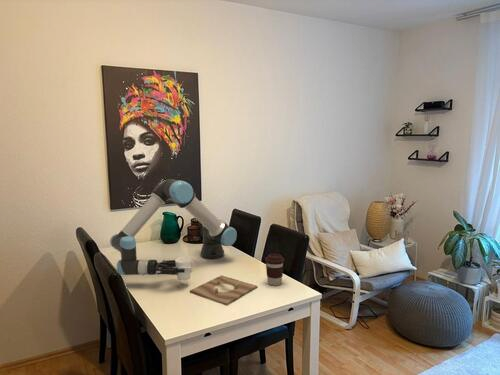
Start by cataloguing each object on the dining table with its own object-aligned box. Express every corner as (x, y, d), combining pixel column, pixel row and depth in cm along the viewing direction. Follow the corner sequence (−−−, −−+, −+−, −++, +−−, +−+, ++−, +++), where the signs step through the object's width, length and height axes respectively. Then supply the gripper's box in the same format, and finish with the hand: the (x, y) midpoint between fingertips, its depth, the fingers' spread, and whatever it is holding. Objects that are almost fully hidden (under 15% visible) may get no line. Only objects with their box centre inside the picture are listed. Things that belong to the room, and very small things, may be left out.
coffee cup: (286, 280, 198) (286, 253, 196) (281, 288, 189) (281, 259, 186) (268, 278, 201) (268, 251, 199) (262, 285, 192) (262, 257, 190)
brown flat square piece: (221, 277, 203) (221, 271, 203) (257, 287, 189) (257, 282, 189) (189, 292, 184) (189, 286, 184) (227, 305, 170) (227, 299, 170)
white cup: (178, 282, 186) (177, 263, 185) (174, 277, 193) (173, 258, 191) (193, 279, 190) (192, 260, 188) (188, 274, 197) (188, 256, 195)
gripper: (154, 266, 202) (196, 266, 201) (142, 282, 181) (189, 282, 181) (153, 253, 200) (195, 253, 200) (141, 267, 180) (188, 267, 180)
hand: (192, 266), depth 190 cm, fingers closed on white cup, 8 cm apart
